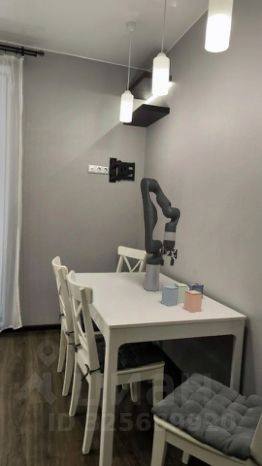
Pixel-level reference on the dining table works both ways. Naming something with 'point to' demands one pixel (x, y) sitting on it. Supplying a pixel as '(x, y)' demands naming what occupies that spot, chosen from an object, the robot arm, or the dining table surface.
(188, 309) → the peach pink block
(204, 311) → the dining table surface
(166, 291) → the blue grey bevelled block
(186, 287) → the pale green bevelled block
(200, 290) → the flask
